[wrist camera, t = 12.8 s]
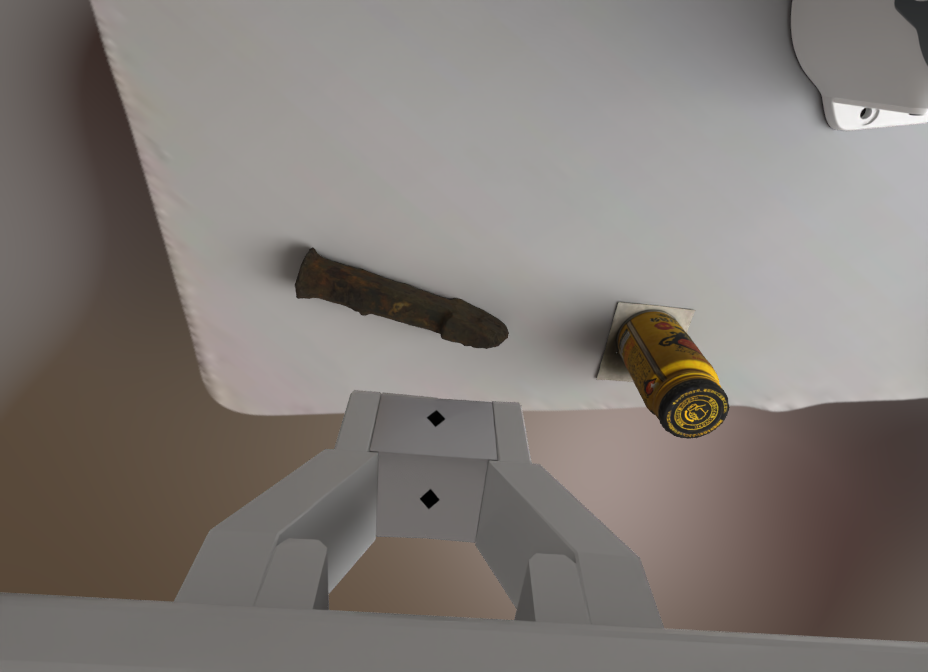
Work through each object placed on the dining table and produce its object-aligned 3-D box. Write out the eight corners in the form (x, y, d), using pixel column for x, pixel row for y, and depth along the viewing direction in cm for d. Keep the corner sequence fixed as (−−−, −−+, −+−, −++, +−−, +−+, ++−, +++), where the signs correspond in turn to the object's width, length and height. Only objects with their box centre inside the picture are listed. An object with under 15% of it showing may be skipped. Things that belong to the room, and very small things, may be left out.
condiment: (694, 309, 50) (756, 382, 40) (666, 384, 55) (716, 468, 44) (617, 300, 50) (660, 372, 40) (595, 377, 54) (628, 460, 44)
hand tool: (300, 281, 49) (286, 304, 45) (310, 242, 47) (297, 262, 43) (494, 347, 53) (497, 374, 49) (511, 313, 51) (516, 337, 47)
